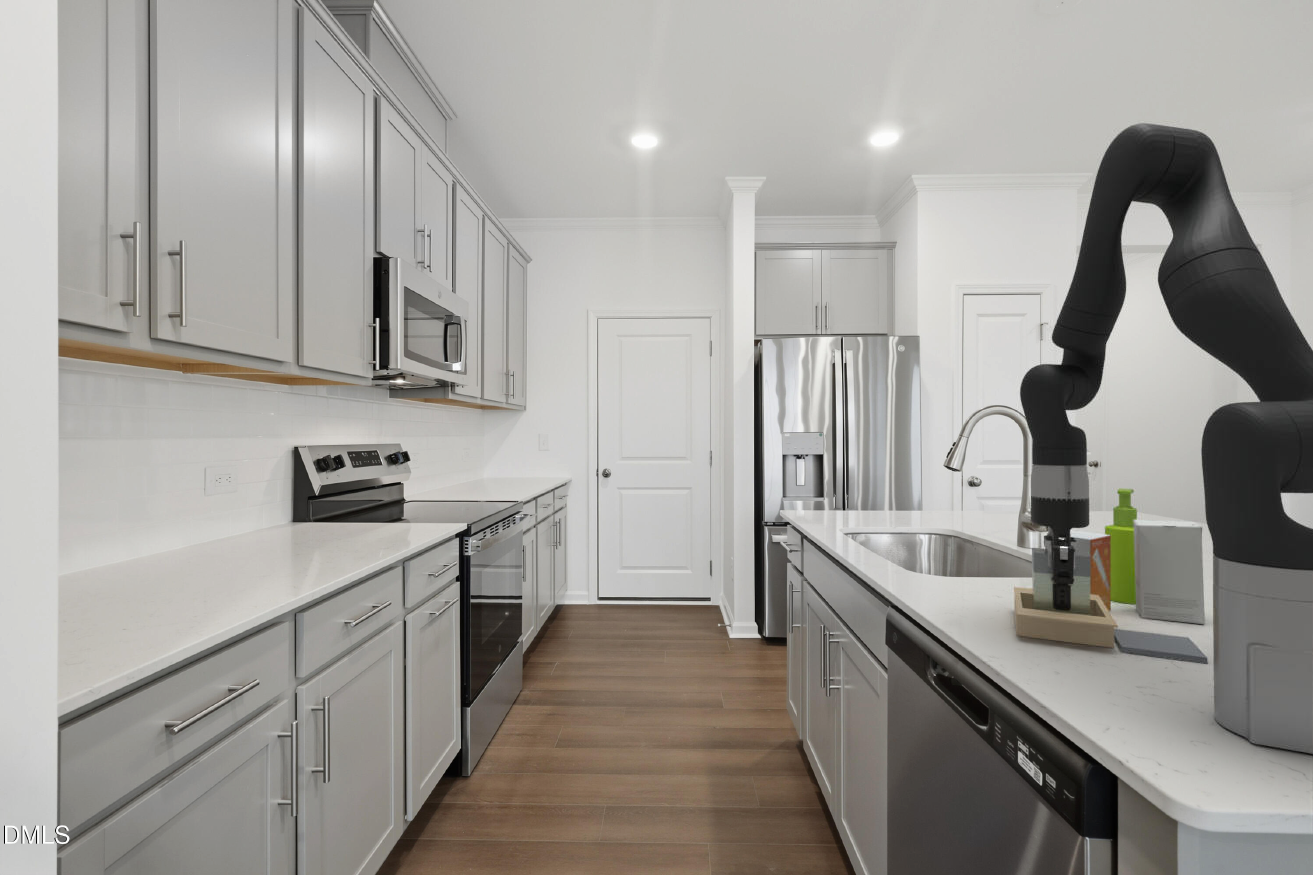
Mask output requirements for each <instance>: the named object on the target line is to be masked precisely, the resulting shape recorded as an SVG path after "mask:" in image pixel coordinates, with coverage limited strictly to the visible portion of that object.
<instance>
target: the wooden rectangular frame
mask: <svg viewBox="0 0 1313 875" xmlns="http://www.w3.org/2000/svg"><path fill="white" fill-rule="evenodd" d="M1013 590H1014V592H1013V593H1014V594H1013V595H1014V596H1013V597H1014V622H1015V631H1016V636H1018V637H1025V638H1027V637H1028V638H1032V639H1033V638H1034V639H1035V638H1036V639H1041V640H1042V639H1043V640H1050V641H1058V642H1064V643H1065V642H1066V643H1071V644H1072V643H1074V644H1081V645H1089V646H1096V647H1102V648H1112V649H1115V640H1114V629H1119V625H1118V624H1117V622H1116V621H1115V619H1114V617H1113V616H1112V614H1111V613H1110V611H1108V609H1107V608H1106V606H1105V605H1104V603H1103V601H1102V600H1101V598H1100V597H1099V595H1092V594H1090V616H1089V615H1080V614H1071V613H1062V612H1053V611H1044V610H1035V609H1033V588H1028V587H1020V586H1019V587H1018V586H1013Z"/></svg>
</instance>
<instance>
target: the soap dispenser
mask: <svg viewBox="0 0 1313 875" xmlns="http://www.w3.org/2000/svg"><path fill="white" fill-rule="evenodd" d="M1116 492H1117V494H1118V505H1117V506H1114V507H1113V508H1112V509H1113V510H1112V511H1113V516H1112V518H1113V520H1112V521H1113V524H1110V525H1109V524H1108V525H1104V534H1106V535H1111V602H1114V603H1115V602H1116V603H1118V604H1119V603H1120V604H1127V605H1136V589H1135V556H1134V525H1133V520H1138V513H1137V512H1138V509H1137V508H1135V507H1134V506H1132V498H1131V497H1132V494H1134V492H1135V491H1134V489H1133V488H1118V489H1117V490H1116Z"/></svg>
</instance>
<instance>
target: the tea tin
mask: <svg viewBox="0 0 1313 875" xmlns="http://www.w3.org/2000/svg"><path fill="white" fill-rule="evenodd" d="M1052 561H1053V554H1052ZM1031 568H1032V570H1031V571H1032V574H1031V575H1032V577H1031V578H1032V589H1033V609H1035V610H1044V611H1053V612H1062V613H1071V614H1080V615H1089V616H1090V556H1089V555H1088V554H1087V552H1086V551H1075V569H1074V575H1073V578H1074V582H1073V584H1072V586H1071V609H1070V610H1069V611H1063V610H1056V609H1054V607H1053V584H1052V582H1051V579H1052V569H1051V568H1049V567H1048V553H1047V550H1046V549H1045V548H1039V547H1031ZM1057 575H1067V570H1064V569H1058V571H1057Z"/></svg>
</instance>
